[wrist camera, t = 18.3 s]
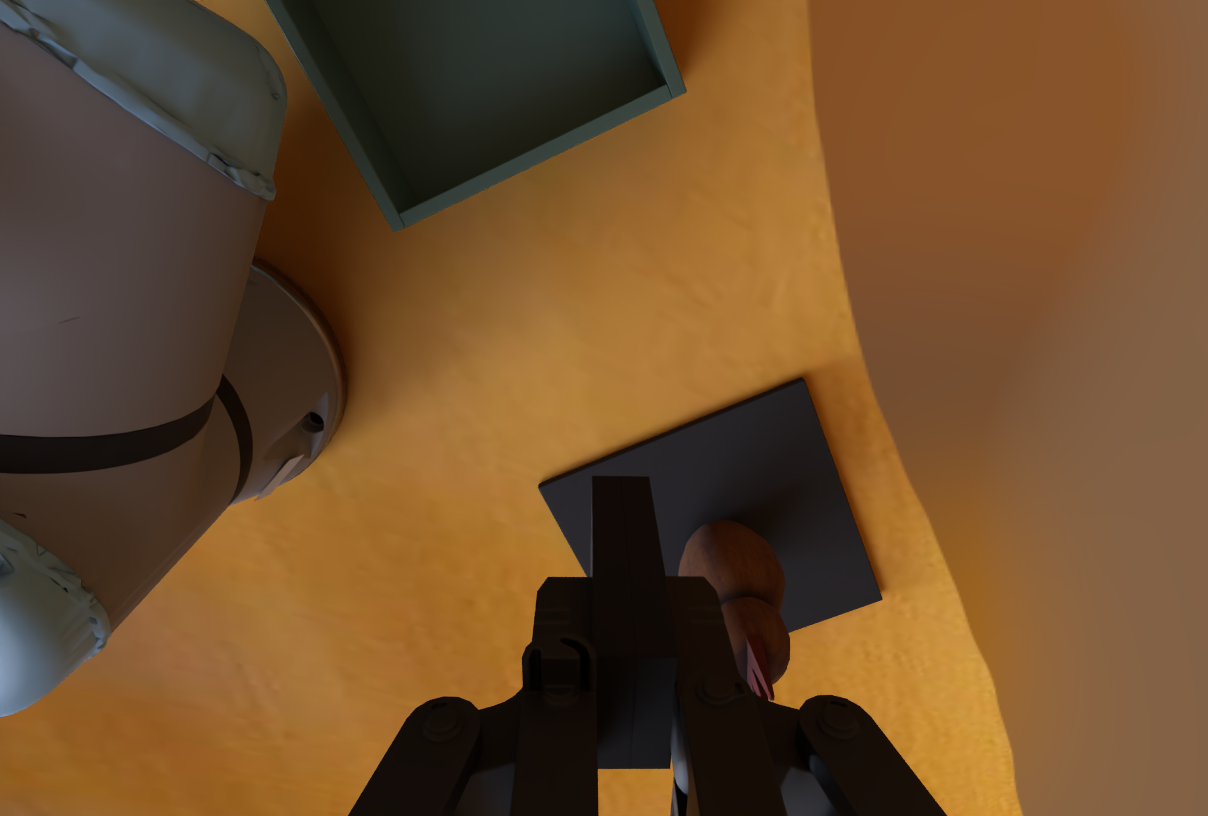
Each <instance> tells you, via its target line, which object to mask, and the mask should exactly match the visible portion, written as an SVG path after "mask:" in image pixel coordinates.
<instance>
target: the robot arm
mask: <svg viewBox="0 0 1208 816" xmlns="http://www.w3.org/2000/svg"><path fill="white" fill-rule="evenodd" d="M286 109H287V90H286V85H285V82H284V79H283V76H282V73H281V71H280V69H279V67H278V66H277V64H276V62H275V61H274V59H273V58H272V56H271V55H270V53H269V52H268V51H267V50H266V49H265V48H264V47H263V46H262V45H261V44H260V43H259V42H258V41H257V40H255V39H254V38H253V37H252V36H250V35H249V34H247V33H246V32H244V31H243V30H241V29H240V28H238V27H237V26H235V25H234V24H232V23H231V22H229V21H227V20H226V19H224V18H222V17H221V16H219V15H217V14H216V13H214V12H212V11H211V10H209V9H207V8H206V7H204V6H202V5H201V4H199V3H197V2H196V1H194V0H0V717H3V716H8V715H12V714H14V713H16V712H19V711H21V710H23V709H25V708H27V707H29V706H31V705H33V704H34V703H36V702H38V701H39V700H40V699H42V698H43V697H44V696H46V695H47V694H48V693H50V692H51V691H52V690H53V689H54V688H55V687H56V686H57V685H59V684H60V683H61V682H62V681H63V680H64V679H65V678H66V677H68V676H69V675H70V674H71V673H72V672H73V671H74V670H75V669H77V668H78V667H79V666H80V665H81V664H82V663H83V662H84V661H86V660H88V659H89V658H92V657H93V656H95V655H96V654H97V653H99V652H100V651H101V650H102V649H103V648H104V647H105V645H106V643H107V640H108V638H109V637H110V636H111V634H112V632H113V631H114V630H115V629H116V628H117V627H118V626H119V625H120V624H121V623H122V622H123V620H124V619H125V618H126V617H127V616H128V615H129V614H130V613H131V612H132V611H133V610H134V609H135V607H136V606H137V605H138V604H139V603H140V602H141V601H142V600H143V599H144V598H145V597H146V596H147V594H148V593H149V592H150V591H151V590H152V589H153V588H154V587H155V586H156V585H157V584H158V583H159V581H160V580H161V579H162V578H163V577H164V576H165V575H166V574H167V573H168V572H169V571H170V569H171V568H172V567H173V566H174V565H175V564H176V563H177V562H178V561H179V560H180V559H181V558H182V556H183V555H184V554H185V553H186V552H187V551H188V550H189V549H190V548H191V547H192V546H193V545H194V543H195V542H196V541H197V540H198V539H199V538H200V537H201V536H202V535H203V534H204V533H205V531H206V530H207V529H208V528H209V527H210V526H211V525H212V524H213V523H214V522H215V521H216V520H217V518H218V517H219V516H220V515H221V514H222V513H223V512H224V511H225V509H226V508H227V507H228V506H230V505H233V504H235V503H238V502H240V501H243V500H245V499H248V498H250V497H253V496H255V495H258V494H260V495H259V496H258V497H257V499H256V500H259V499H261V498H263V497H265V496H268V495H270V494H271V493H272V492H273V491H274V489H275V488H276V487H278V486H280V485H282V484H284V483H285V482H287V481H289V480H291V479H293V478H294V477H296V476H297V475H299V474H300V473H301V472H303V471H304V470H305V469H306V468H308V467H309V466H310V465H311V464H312V462H313V461H314V460H315V459H316V458H317V457H318V456H319V454H320V453H321V452H322V451H323V450H324V448H325V447H326V446H327V444H328V443H329V442H330V441H331V439H332V437H333V436H334V434H335V432H336V430H337V428H338V426H339V424H340V422H341V418H342V415H343V412H344V408H345V403H346V393H347V380H346V371H345V365H344V361H343V356H342V353H341V350H340V347H339V344H338V342H337V339H336V337H335V335H334V333H333V331H332V329H331V327H330V325H329V324H328V322H327V320H326V319H325V317H324V316H323V314H322V313H321V311H320V310H319V308H318V307H317V306H316V305H315V304H314V302H313V301H312V300H311V299H310V298H309V296H308V295H307V294H306V293H305V292H304V291H303V290H302V289H301V288H300V287H299V286H297V285H296V284H295V283H294V282H293V281H292V280H290V279H289V278H288V277H287V276H285V275H284V274H282V273H281V272H280V271H278V270H277V269H275V268H274V267H272V266H270V265H269V264H267V263H265V262H263V261H261V260H260V259H258V258H256V257H254V253H255V249H256V245H257V241H258V238H259V234H260V230H261V226H262V223H263V219H264V215H265V211H266V208H267V204H268V201H274V198H275V195H276V188H275V184H274V182H273V180H272V178H273V174H274V169H275V164H276V159H277V154H278V149H279V144H280V139H281V134H282V129H283V124H284V119H285V114H286ZM256 500H255V501H256ZM522 674H523V687H522V689H521V690H520V691H519V692H518V693H517V694H516V695H515V696H513V697H512V698H510V699H508V700H507V701H505V702H503V703H500V704H497V705H495V706H491V707H488V708H484V709H480V710H478V709H477V708H476V707H475V706H474V705H473V704H472V703H471V702H470V701H467V700H465V699H462V698H460V697H440V698H436V699H432V700H429V701H427V702H425V703H424V704H422V705H420V706H419V707H417V708H416V709H415V710H414V711H413V712H412V713H411V714H410V716H409V717H408V718H407V719H406V721H405V722H404V724H403V726H402V727H401V729H400V731H399V732H398V734H397V736H396V737H395V739H394V741H393V742H392V744H391V745H390V747H389V749H388V750H387V752H386V754H385V755H384V757H383V759H382V760H381V762H380V764H379V765H378V767H377V769H376V770H375V772H374V774H373V775H372V777H371V779H370V780H369V782H368V783H367V785H366V787H365V788H364V790H363V792H362V793H361V795H360V797H359V798H358V800H357V802H356V803H355V805H354V807H353V808H352V810H351V812H350V813H349V815H348V816H598V769H670V763H671V756H672V763H673V771H674V780H673V792H672V803H671V815H670V816H947V815H946V814H945V812H944V811H943V810H942V808H941V807H940V806H939V805H938V803H937V802H936V801H935V799H934V798H933V797H932V795H931V794H930V793H929V792H928V790H927V789H926V788H925V786H924V785H923V784H922V782H921V781H920V780H919V779H918V777H917V776H916V775H915V773H914V772H913V771H912V769H911V768H910V767H909V766H908V764H907V763H906V762H905V760H904V759H903V758H902V756H901V755H900V754H899V753H898V751H897V750H896V749H895V747H894V746H893V745H892V743H891V742H890V741H889V740H888V738H887V737H886V736H885V734H884V733H883V732H882V730H881V729H880V728H879V727H878V725H877V724H876V723H875V721H874V720H873V719H872V717H871V716H870V715H869V714H868V713H867V712H865V711H864V710H863V709H862V708H861V707H860V706H859V705H857V704H855V703H853V702H851V701H849V700H848V699H845V698H841V697H837V696H834V695H817V696H815V697H812V698H810V699H808V700H806V701H805V702H804V704H803V705H802V706H801V707H800V710H798V709H794V708H790V707H787V706H783V705H779V704H776V703H773V702H770V701H768V700H765V699H764V698H762V697H760V696H758V695H757V694H755V693H754V692H753V691H752V690H751V688H750V686H749V684H748V682H747V681H745V680H744V679H743V678H742V677H741V676H740V674H739V671H738V668H737V664H736V660H735V657H734V653H733V649H732V645H731V642H730V638H729V634H728V631H727V627H726V624H725V620H724V616H723V612H722V610H721V605H720V601H719V597H718V594H717V591H716V589H715V588H714V587H713V586H712V585H711V584H710V583H709V582H708V580H707V579H706V578H705V577H704V576H666V575H665V569H664V563H663V557H662V551H661V545H660V539H659V533H658V527H657V521H656V515H655V509H654V503H653V497H652V491H651V485H650V479H649V476H592V499H591V558H590V577H548V578H547V579H546V580H545V582H544V583H543V584H542V586H541V587H540V589H539V590H538V591H537V599H536V610H535V618H534V627H533V636H532V642H531V643H530V644H529V645H528V646H527V647H526V649H525V651H524V654H523V656H522Z"/></svg>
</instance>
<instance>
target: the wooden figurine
mask: <svg viewBox="0 0 1208 816" xmlns="http://www.w3.org/2000/svg"><path fill="white" fill-rule="evenodd" d="M678 576H704V577H705V578H706V579H707V580H708V582H709V583H710V584H711V585H712V586H713V587H714V588H715V589H716V591H717V594H718V597H719V601H720V605H721V610H722V612H723V616H724V620H725V624H726V627H727V631H728V634H729V638H730V642H731V645H732V649H733V653H734V657H735V660H736V664H737V668H738V671H739V674H740V676H741V677H742V678H743V679H744V680H745V681H747V682H748V684H749V686H750V688H751V690H752V691H753V692H754V693H755V694H757V695H758V696H760V697H762V698H764V699H765V700H768V697H769V699H770V701H771V700H774V692H773V687H772V685H773V684H774V683H776V682H777V681H778V680H779V679H780V678H781V677H782V675H783V674H784V673H785V671H786V669H787V666H788V663H789V660H790V637H789V634H788V630H787V628H786V626H785V624H784V622H783V620H782V618H781V616H780V614H779V613H780V611H781V608H782V602H783V594H784V589H785V578H784V572H783V570H782V567H781V565H780V563H779V560H778V559H777V557H776V555H775V553H774V551H773V549H772V547H771V546H770V545H769V544H768V542H767V541H766V540H765V539H764V538H763V537H761V536H760V535H758V534H757V533H755V532H754V531H752V530H751V529H749V528H748V527H746V526H745V525H742V524H740V523H737V522H734V521H731V520H715V521H712V522H710V523H707V524H705V525H702V526H701V527H700V528H699V529H698V530H697V531H695V532H694V533H693V534H692V536H691V537H690V539H689V540H688V542H687V543H686V546H685V550H684V553H683V556H682V558H681V561H680V566H679V573H678Z"/></svg>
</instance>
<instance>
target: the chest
mask: <svg viewBox="0 0 1208 816" xmlns="http://www.w3.org/2000/svg"><path fill="white" fill-rule="evenodd" d="M265 2H266V4H267V6H268V7H269V9H270V11H271V13H272V15H273V16H274V18H275V20H276V22H277V24H278V25H279V27H280V29H281V31H282V33H283V34H284V36H285V38H286V40H287V42H288V43H289V45H290V47H291V49H292V51H293V52H294V54H295V56H296V58H297V60H298V61H299V63H300V65H301V67H302V69H303V70H304V72H305V74H306V76H307V78H308V79H309V81H310V83H311V85H312V87H313V88H314V90H315V92H316V94H317V96H318V97H319V99H320V101H321V103H322V105H323V106H324V108H325V110H326V112H327V114H328V115H329V117H330V119H331V121H332V123H333V124H334V126H335V128H336V130H337V132H338V133H339V135H340V137H341V139H342V141H343V143H344V144H345V146H346V148H347V150H348V152H349V153H350V155H351V157H352V159H353V161H354V162H355V164H356V166H357V168H358V170H359V171H360V173H361V175H362V177H363V179H364V180H365V182H366V184H367V186H368V188H369V189H370V191H371V193H372V195H373V197H374V198H375V200H376V202H377V204H378V206H379V207H380V209H381V211H382V213H383V215H384V216H385V218H386V220H387V222H388V224H389V225H390V227H391V229H392V231H393V232H397V231H399V230H401V229H403V228H405V227H408V226H410V225H412V224H414V223H416V222H418V221H420V220H422V219H424V218H426V217H428V216H430V215H433V214H435V213H437V212H439V211H441V210H443V209H445V208H447V207H449V206H451V205H453V204H455V203H458V202H460V201H462V200H464V199H466V198H468V197H470V196H472V195H474V194H476V193H478V192H480V191H482V190H485V189H487V188H489V187H491V186H493V185H495V184H497V183H499V182H501V181H503V180H505V179H507V178H510V177H512V176H514V175H516V174H518V173H520V172H522V171H524V170H526V169H528V168H530V167H532V166H534V165H537V164H539V163H541V162H543V161H545V160H547V159H549V158H551V157H553V156H555V155H557V154H559V153H562V152H564V151H566V150H568V149H570V148H572V147H574V146H576V145H578V144H580V143H582V142H584V141H586V140H589V139H591V138H593V137H595V136H597V135H599V134H601V133H603V132H605V131H607V130H609V129H611V128H613V127H616V126H618V125H620V124H622V123H624V122H626V121H628V120H630V119H632V118H634V117H636V116H638V115H641V114H643V113H645V112H647V111H649V110H651V109H653V108H655V107H657V106H659V105H661V104H663V103H665V102H668V101H670V100H672V99H674V98H676V97H678V96H680V95H682V94H684V93H686V92H687V91H686V88H685V85H684V82H683V80H682V77H681V74H680V71H679V69H678V66H677V63H676V60H675V58H674V55H673V52H672V49H671V47H670V44H669V41H668V38H667V36H666V33H665V30H664V27H663V25H662V22H661V19H660V16H659V14H658V11H657V8H656V5H655V3H654V0H265Z"/></svg>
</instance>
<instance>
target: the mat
mask: <svg viewBox="0 0 1208 816" xmlns="http://www.w3.org/2000/svg"><path fill="white" fill-rule="evenodd" d="M592 476H649V479H650V485H651V491H652V497H653V503H654V509H655V515H656V521H657V527H658V533H659V539H660V545H661V551H662V557H663V563H664V569H665V575H666V576H678V573H679V566H680V561H681V558H682V556H683V553H684V550H685V546H686V543H687V542H688V540H689V539H690V537H691V536H692V534H693V533H694V532H695V531H697V530H698V529H699V528H700V527H701V526H702V525H705V524H707V523H710V522H712V521H715V520H731V521H734V522H737V523H740V524H742V525H745V526H746V527H748V528H749V529H751V530H752V531H754V532H755V533H757V534H758V535H760V536H761V537H763V538H764V539H765V540H766V541H767V542H768V544H769V545H770V546H771V547H772V549H773V551H774V553H775V555H776V557H777V559H778V560H779V563H780V565H781V567H782V570H783V572H784V578H785V589H784V594H783V602H782V608H781V611H780V613H779V614H780V616H781V618H782V620H783V622H784V624H785V626H786V628H787V630H788V633H789V632H792V631H795V630H798V629H801V628H803V627H806V626H809V625H812V624H815V623H818V622H821V621H823V620H826V619H829V618H832V617H835V616H838V615H840V614H843V613H846V612H849V611H852V610H855V609H858V608H860V607H863V606H866V605H869V604H872V603H875V602H878V601H880V600H882V596H881V593H880V590H879V588H878V585H877V582H876V579H875V576H874V573H873V571H872V568H871V565H870V562H869V559H868V557H867V554H866V551H865V548H864V545H863V543H862V540H861V537H860V534H859V531H858V528H857V526H856V523H855V520H854V517H853V514H852V512H851V509H850V506H849V503H848V500H847V498H846V495H845V492H844V489H843V486H842V483H841V481H840V478H839V475H838V472H837V469H836V467H835V464H834V461H833V458H832V455H831V453H830V450H829V447H828V444H827V441H826V439H825V436H824V433H823V430H822V427H821V424H820V422H819V419H818V416H817V413H816V410H815V408H814V405H813V402H812V399H811V396H810V394H809V391H808V388H807V385H806V382H805V380H804V379H803V378H802V377H801V378H798V379H796V380H794V381H791V382H789V383H786V384H784V385H781V386H779V387H776V388H774V389H771V390H769V391H766V392H764V393H762V394H759V395H757V396H754V397H752V398H749V399H747V400H744V401H742V402H739V403H737V404H734V405H732V406H729V407H727V408H725V409H722V410H720V411H717V412H715V413H712V414H710V415H707V416H705V417H702V418H700V419H697V420H695V421H693V422H690V423H688V424H685V425H683V426H680V427H678V428H675V429H673V430H670V431H668V432H665V433H663V434H661V435H658V436H656V437H653V438H651V439H648V440H646V441H643V442H641V443H638V444H636V445H633V446H631V447H629V448H626V449H624V450H621V451H619V452H616V453H614V454H611V455H609V456H606V457H604V458H601V459H599V460H597V461H594V462H592V463H589V464H587V465H584V466H582V467H579V468H577V469H574V470H572V471H569V472H567V473H565V474H562V475H560V476H557V477H555V478H552V479H550V480H547V481H545V482H542V483H540V484H539V486H538V489H539V491H540V493H541V494H542V496H543V498H544V500H545V502H546V503H547V505H548V507H549V509H550V511H551V512H552V514H553V516H554V518H555V520H556V521H557V523H558V525H559V527H560V529H561V531H562V532H563V534H564V536H565V538H566V540H567V541H568V543H569V545H570V547H571V549H572V550H573V552H574V554H575V556H576V558H577V559H578V561H579V563H580V565H581V567H582V568H583V570H584V572H585V574H586V576H587V577H590V558H591V499H592Z"/></svg>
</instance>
